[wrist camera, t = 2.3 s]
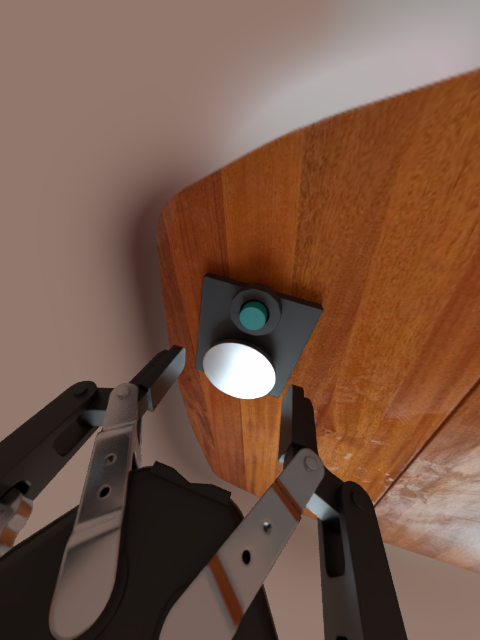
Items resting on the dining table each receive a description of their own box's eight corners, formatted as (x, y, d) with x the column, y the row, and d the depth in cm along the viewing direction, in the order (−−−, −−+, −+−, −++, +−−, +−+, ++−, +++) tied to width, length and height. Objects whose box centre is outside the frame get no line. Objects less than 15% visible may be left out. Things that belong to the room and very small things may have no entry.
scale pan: (208, 329, 23) (206, 332, 22) (286, 354, 22) (286, 358, 21) (202, 380, 28) (200, 384, 28) (264, 402, 27) (264, 407, 27)
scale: (208, 265, 22) (197, 272, 20) (325, 298, 21) (329, 310, 18) (198, 363, 31) (190, 376, 29) (279, 390, 30) (277, 407, 27)
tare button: (245, 297, 20) (242, 303, 19) (270, 305, 20) (268, 311, 18) (240, 318, 22) (237, 325, 20) (263, 326, 21) (261, 333, 20)
